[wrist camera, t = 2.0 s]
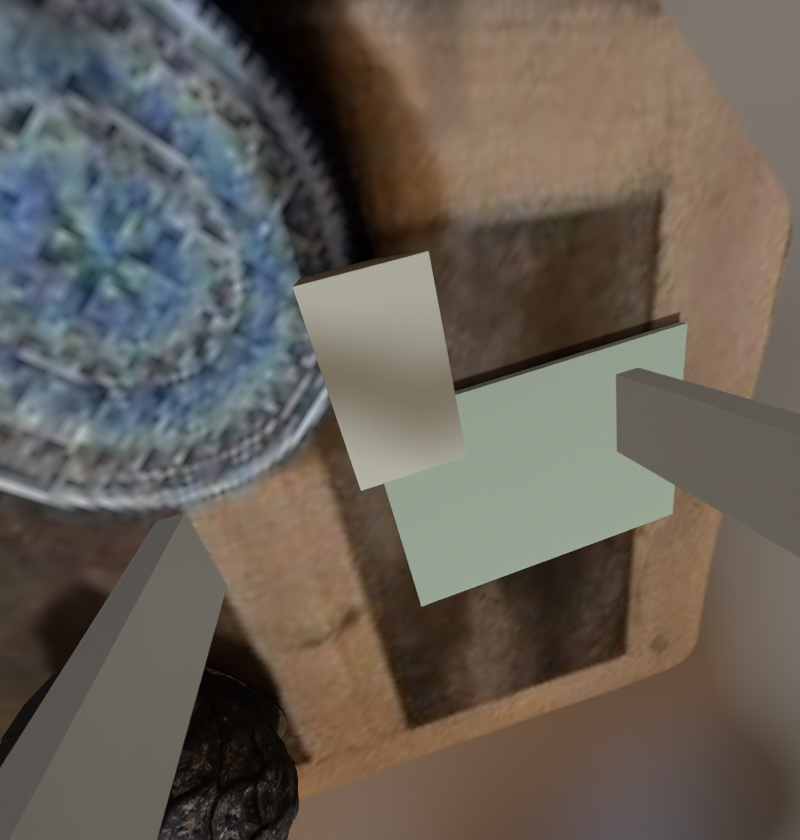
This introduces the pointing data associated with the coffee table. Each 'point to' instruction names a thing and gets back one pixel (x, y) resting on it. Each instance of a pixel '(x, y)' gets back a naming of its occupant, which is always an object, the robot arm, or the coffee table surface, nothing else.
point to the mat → (534, 470)
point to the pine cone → (232, 768)
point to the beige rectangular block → (384, 364)
